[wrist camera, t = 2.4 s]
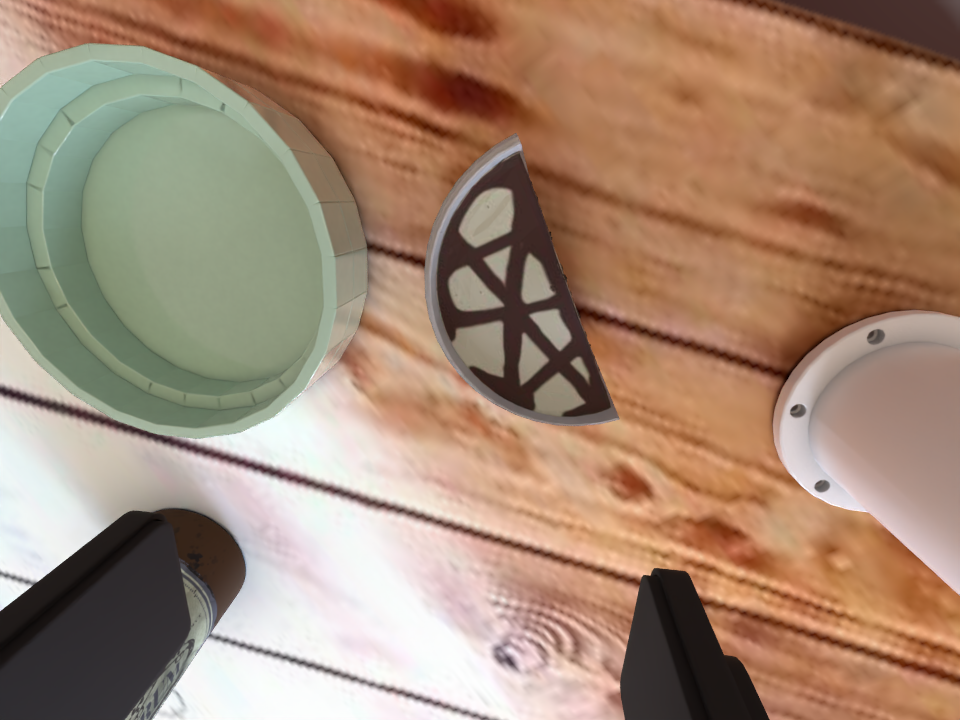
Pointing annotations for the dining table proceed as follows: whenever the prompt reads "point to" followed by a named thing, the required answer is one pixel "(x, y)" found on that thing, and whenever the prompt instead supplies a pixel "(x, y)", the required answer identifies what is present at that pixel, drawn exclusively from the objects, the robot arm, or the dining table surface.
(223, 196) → the bowl
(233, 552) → the olive oil
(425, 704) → the dining table surface
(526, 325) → the food container
